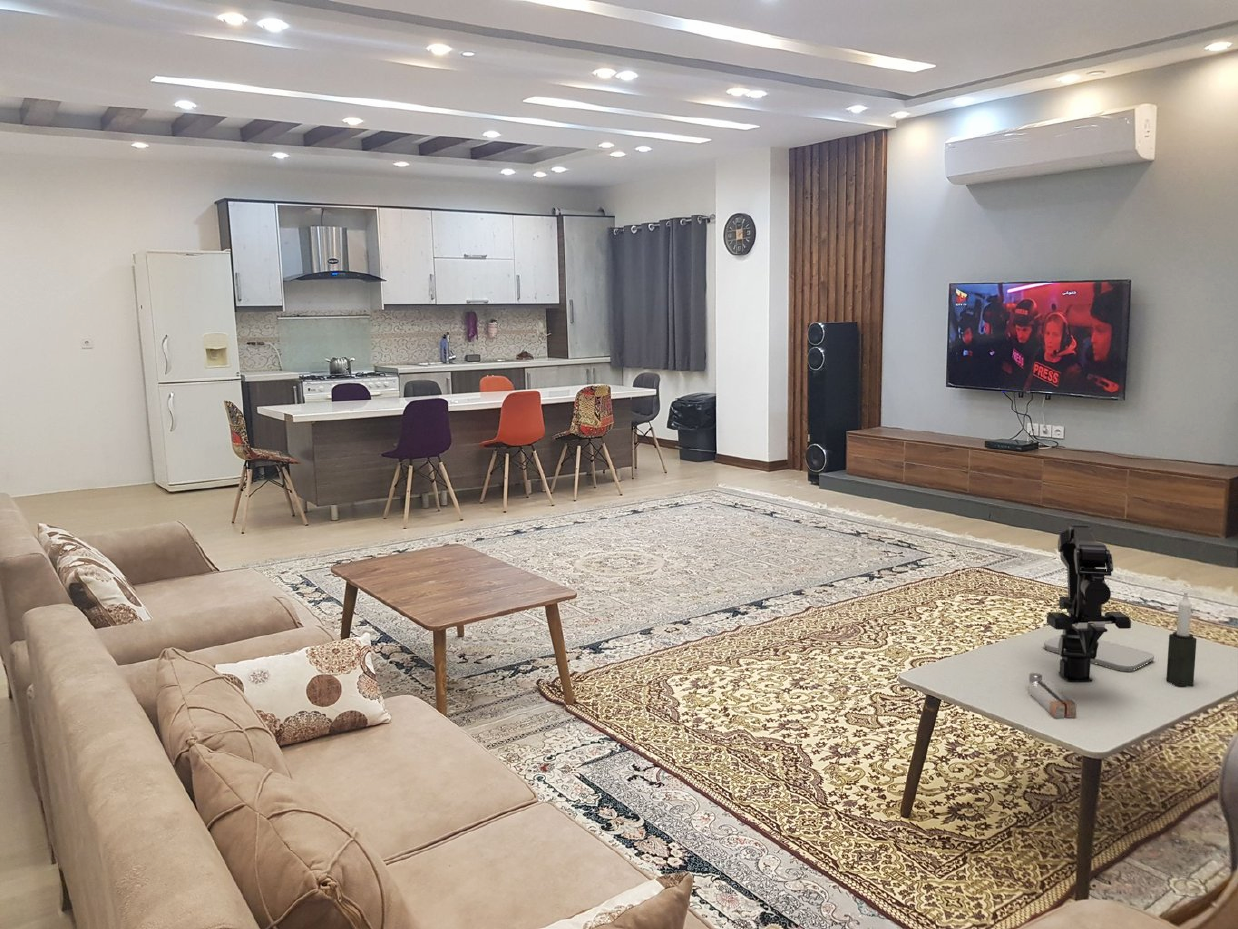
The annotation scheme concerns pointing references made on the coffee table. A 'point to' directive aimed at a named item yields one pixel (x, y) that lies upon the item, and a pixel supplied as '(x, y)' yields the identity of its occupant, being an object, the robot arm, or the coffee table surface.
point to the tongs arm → (1060, 698)
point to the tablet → (1111, 654)
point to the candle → (1182, 648)
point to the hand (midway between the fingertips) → (1086, 653)
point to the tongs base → (1045, 696)
